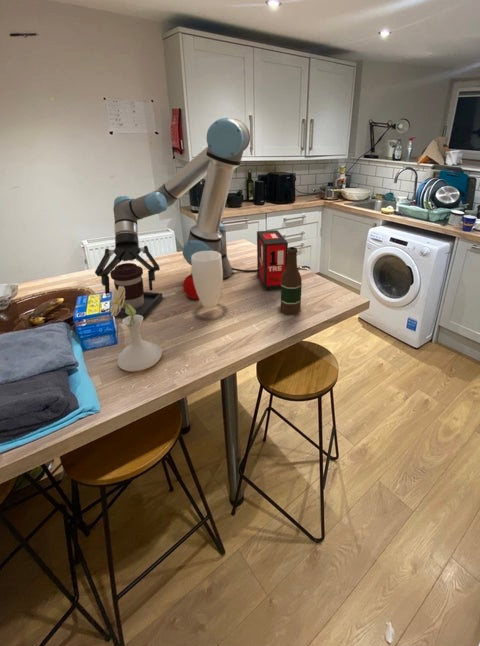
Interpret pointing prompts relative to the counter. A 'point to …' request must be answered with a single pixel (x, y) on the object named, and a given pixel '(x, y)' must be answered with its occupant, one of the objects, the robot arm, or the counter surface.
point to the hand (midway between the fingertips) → (129, 291)
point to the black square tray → (144, 305)
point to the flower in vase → (134, 338)
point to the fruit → (190, 287)
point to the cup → (207, 276)
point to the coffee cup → (129, 283)
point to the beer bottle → (291, 285)
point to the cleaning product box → (271, 258)
